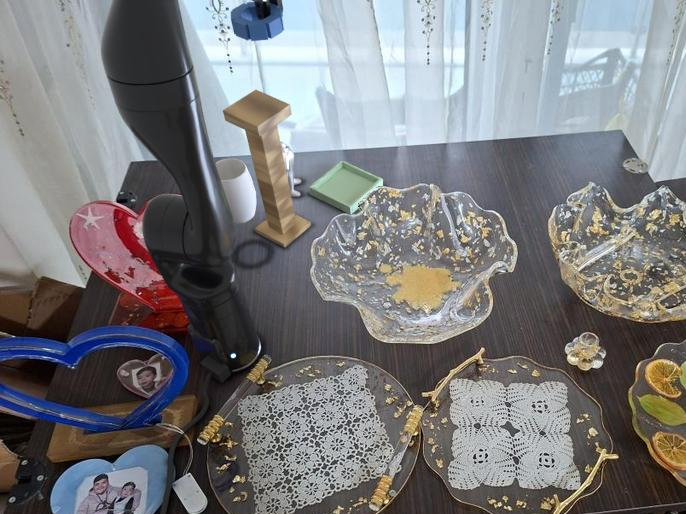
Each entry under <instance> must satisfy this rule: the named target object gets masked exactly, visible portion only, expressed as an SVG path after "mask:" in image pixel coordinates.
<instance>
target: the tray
mask: <svg viewBox="0 0 686 514" xmlns="http://www.w3.org/2000/svg"><path fill="white" fill-rule="evenodd" d="M378 186H383V187H384V179H383V178H382V177H380V176H377V175H375V174H373V173H371V172H369V171H367V170H364V169H362V168H360V167H358V166H355V165H354V164H351V163H350V162H347V161H345V160H340V161H339V162H338V163H336V164H335V165H334V166H333V167H331V168H330V169H328V171H326V172H325V173H324V174H323V175H322V176H320V177H319V178H318V179H316V180H315V181H313V183H311V184H310V185H309V186H308V192H309V195H310V196H312V197H314V198H316V199H318V200H320V201H321V202H324V203H326V204H328V205H330V206H332V207H335V208H336V209H338V210H340V211H342V212H344V213H346V214H349V215H350V214H351V215H353V214H354V213H355V212H356V211H357V210H358V209H359V208H360V207H358V203H359V202H360V201H361V200H362V199H363V198H365V197H366V196H367V194H368V193H369V192H370V191H371V190H372V189H374V188H376V187H378Z"/></svg>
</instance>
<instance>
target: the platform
mask: <svg viewBox="0 0 686 514" xmlns="http://www.w3.org/2000/svg"><path fill="white" fill-rule="evenodd" d="M291 108H292V107H291V104H290V103H287V102H285V101H284V100H281V99H279V98H276V97H274V96H272V95H269V94H267V93H266V92H262V91H260V90H259V89H254V90H253V91H251V92H250V93H248V94H246V95H245V96H243V97H241V98H240V99H238V100H237V101H235V102H234V103H232V104H230V105H229V106H227V107H226V108H224V109H223V110H222V114H223V117H224V121H225V122H227V123H229V124H231V125H234V126H235V127H238V128H240V129H242V130H244V132H245V136H246V140H247V144H248V148H249V153H250V157H251V160H252V164H253V169H254V172H255V176H256V181H257V185H258V189H259V193H260V197H261V201H262V205H263V209H264V212H265V213H264V214H265V217H266V218H265V220H262V222H260V223H259V224H258V225H256V227H255V228H254V231H255V233H257V234H259V235H261V236H262V237H264V238H266V239H267V240H269V241H271V242H273V243H275V244H277V245H279V246H280V247H282V248H285V249H286V248H287V246H289V245H290V244H291V243H292V242H294V241H295V240H296V239H298V237H300V236H301V235H302V234H303V233H304V232H305V231H307V230H308V229H309V228H310V227H311V226H312V223H311V221H309V220H308V219H305V218H303V217H301V216H300V215H297V214H296V213H295V209H294V205H293V197H291V193H290V188H289V183H288V178H287V173H286V168H285V163H284V158H283V153H282V148H281V143H280V142H281V138H280V134H279V128H278V125H279V124H280V123H282V122H283V121H285V120H286V119H288V118H289V117H291V116H292V115H293V114H292V109H291Z"/></svg>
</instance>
